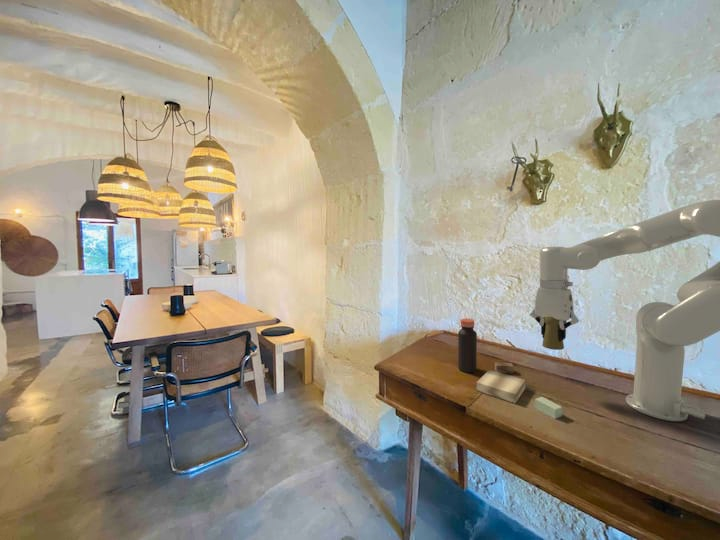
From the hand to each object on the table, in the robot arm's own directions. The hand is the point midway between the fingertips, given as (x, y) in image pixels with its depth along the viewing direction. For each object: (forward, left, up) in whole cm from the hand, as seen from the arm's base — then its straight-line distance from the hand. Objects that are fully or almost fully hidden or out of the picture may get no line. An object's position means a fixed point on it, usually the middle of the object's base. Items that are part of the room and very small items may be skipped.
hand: (553, 338), depth 95 cm
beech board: (+11, +13, -18) cm, 24 cm away
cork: (0, 0, -3) cm, 3 cm away
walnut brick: (+17, -1, -18) cm, 24 cm away
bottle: (+27, +8, -18) cm, 33 cm away
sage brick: (-4, +15, -18) cm, 24 cm away
